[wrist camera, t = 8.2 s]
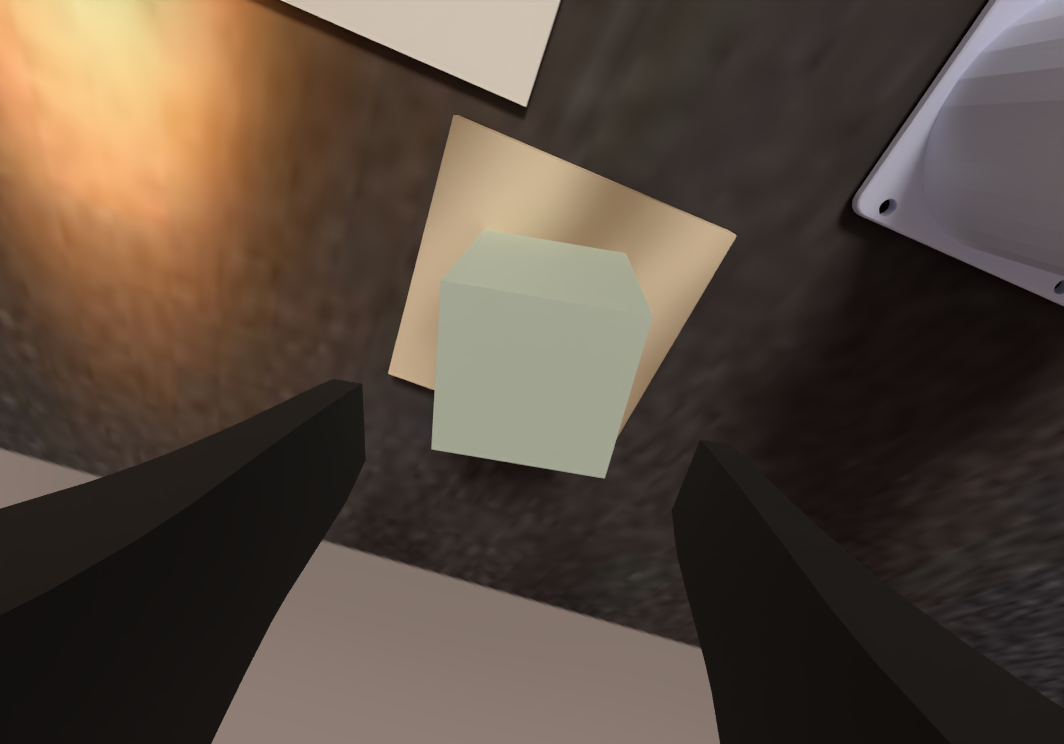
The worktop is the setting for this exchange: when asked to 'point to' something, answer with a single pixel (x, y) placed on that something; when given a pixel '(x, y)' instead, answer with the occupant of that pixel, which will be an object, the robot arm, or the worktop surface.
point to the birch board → (553, 239)
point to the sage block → (537, 352)
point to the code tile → (456, 35)
